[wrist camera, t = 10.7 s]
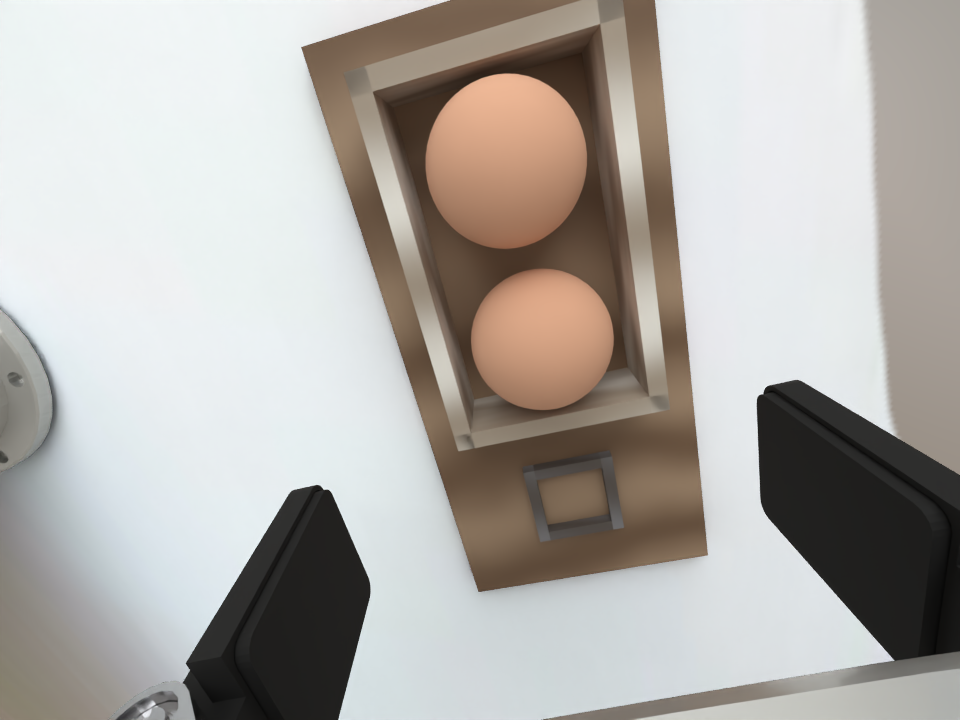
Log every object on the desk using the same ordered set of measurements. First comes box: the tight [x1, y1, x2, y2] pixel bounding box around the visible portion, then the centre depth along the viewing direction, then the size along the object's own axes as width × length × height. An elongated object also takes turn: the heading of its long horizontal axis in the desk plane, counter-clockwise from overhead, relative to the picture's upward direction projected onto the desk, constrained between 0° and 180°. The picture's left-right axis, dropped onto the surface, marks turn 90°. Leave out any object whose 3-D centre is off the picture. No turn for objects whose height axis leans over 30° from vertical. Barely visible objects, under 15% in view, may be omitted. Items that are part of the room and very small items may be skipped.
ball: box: [426, 74, 587, 249], centre depth 17 cm, size 6×6×6 cm
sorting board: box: [301, 0, 708, 592], centre depth 22 cm, size 30×14×4 cm, turn 14°
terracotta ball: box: [471, 268, 614, 410], centre depth 20 cm, size 6×6×6 cm
